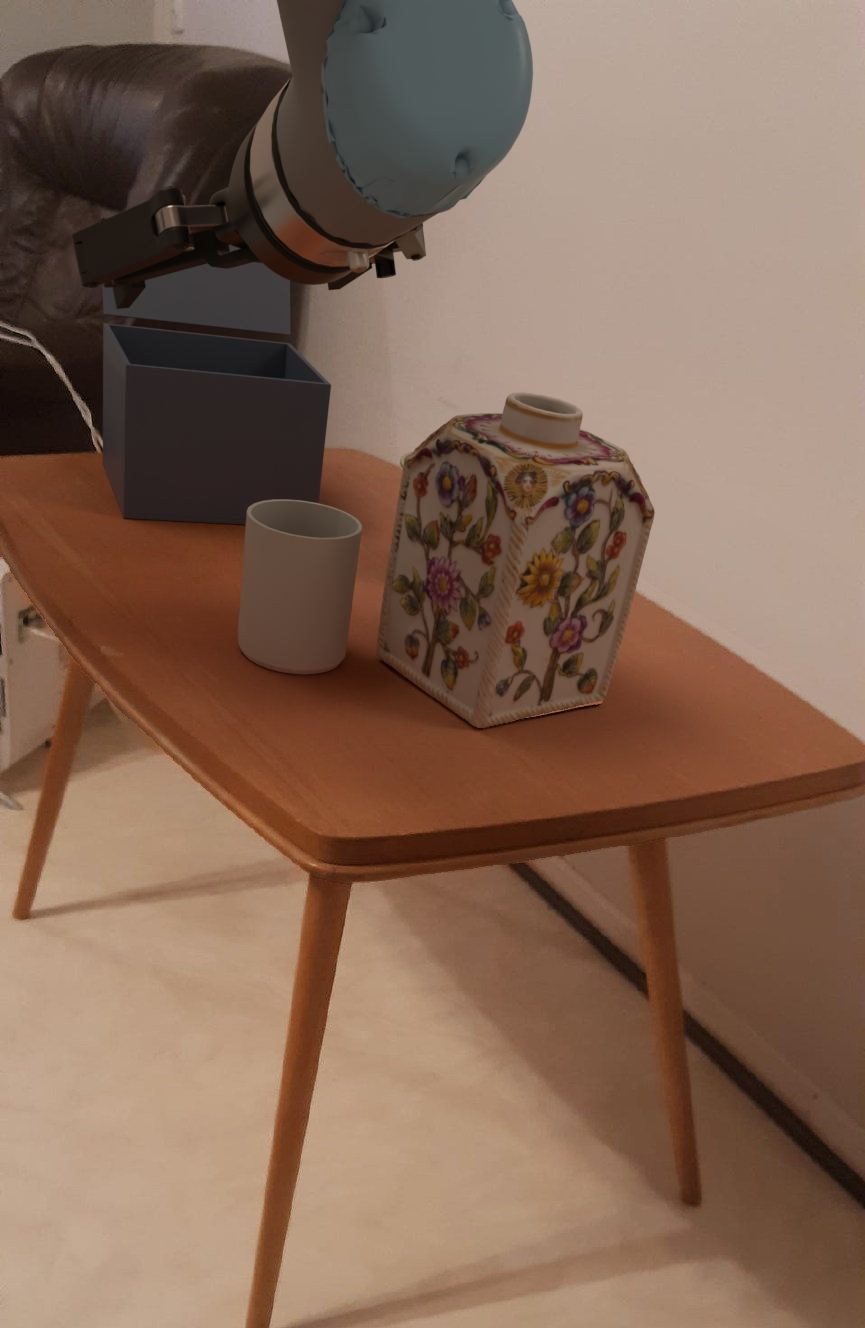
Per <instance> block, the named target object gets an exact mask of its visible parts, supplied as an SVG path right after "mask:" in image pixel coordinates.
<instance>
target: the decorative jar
mask: <svg viewBox="0 0 865 1328" xmlns="http://www.w3.org/2000/svg"><path fill="white" fill-rule="evenodd" d="M583 416H584V413H583V411H582V410H581V408H579V407H578V406H576V405H575V404H573V403H570V402H568V401H565V400H562V399H560V398H555V397H553V396H548V395H543V394H536V393H532V392H531V393H530V392H512V393H510V394H508V395H507V396H506V399H505V401H504V406H503V410H502V412H489V413H487V412H485V413H482V412H481V413H467V414H458V415H457V414H456V415H455V416H453V417H452V418H450V419H449V420H448V421H446V423H443V424H442V425H441V426H440V427H439V428H437V429H436V430H434V431H433V432H432V433H430V434H429V435H428V436H427V437H426V439H425V440H423V441H422V442H421V443H420V444H419V445H418V446H417V447H415V448H414V450H413V451H412V452H413V453H411V454H410V455H409V456H407V458H406V459H405V461H404V465H403V468H402V473H401V478H400V484H399V490H398V497H397V498H398V499H397V504H396V509H395V517H394V524H393V530H392V537H391V543H390V549H389V552H388V553H389V555H388V561H387V567H386V574H385V580H384V588H383V593H382V603H381V609H380V617H379V624H378V633H377V643H376V655H377V658H378V659H380V660H381V661H382V662H384V663H385V664H386V665H388V666H389V667H391V668H393V669H394V671H396V672H398V673H399V674H400V675H401V676H403V677H404V678H405V679H407V680H408V681H410V682H412V683H413V684H414V685H415V686H416V687H418V688H419V689H420V690H422V691H423V692H425V693H426V694H427V695H428V696H430V697H432V698H434V699H435V700H436V701H438V702H439V703H441V704H442V705H444V706H445V707H446V708H448V709H450V710H451V712H453V713H455V714H456V715H457V714H458V715H457V716H459V717H460V718H461V719H462V720H464V719H465V720H464V721H466V722H467V721H468V722H467V723H468V724H470V725H471V726H473V727H474V728H476V727H477V728H476V729H478V728H483V729H487V728H490V727H489V726H492V727H495V726H494V725H496V726H499V725H498V724H501V725H503V724H502V723H506V722H510V721H513V720H517V719H522V718H526V717H531V716H535V715H540V714H543V713H544V714H545V713H549V712H552V711H557V710H563V709H564V710H565V709H568V708H573V707H576V706H579V705H584V704H589V703H593V702H598V701H604V700H605V701H606V699H607V694H608V691H609V688H610V686H611V685H610V684H611V682H612V677H613V674H614V670H615V668H616V664H617V661H618V657H619V652H620V648H621V645H622V642H623V639H624V635H625V632H626V628H627V625H628V620H629V617H630V616H629V615H630V613H631V609H632V605H633V601H634V597H635V593H636V590H637V585H638V583H639V582H638V581H639V578H640V574H641V570H642V566H643V561H644V559H645V553H646V550H647V547H648V546H647V545H648V543H649V540H650V539H649V538H650V535H651V530H652V528H653V527H652V526H653V523H654V519H655V513H656V512H655V507H654V506H653V503H652V502H651V498H650V496H649V493H648V491H647V490H646V488H645V487H644V485H643V481H642V478H641V476H640V474H639V472H638V471H637V470H636V467H634V464H633V463H632V461H631V459H630V456H629V454H628V453H627V451H626V450H625V449H623V448H622V447H619V446H618V445H615V444H613V443H612V442H609V441H607V440H605V439H603V438H602V437H599V436H598V435H595V434H593V433H591V432H589V431H588V430H584V429H582V428H581V426H582V423H583V422H582V421H583ZM605 701H604V702H605ZM522 720H523V719H522ZM506 724H507V723H506ZM486 727H487V728H486Z"/></svg>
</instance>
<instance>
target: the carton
mask: <svg viewBox="0 0 865 1328" xmlns="http://www.w3.org/2000/svg"><path fill="white" fill-rule="evenodd" d="M102 324H103V325H102V327H103V328H102V329H103V330H102V334H103V335H102V339H103V340H102V363H103V364H102V466H103V469H104V471H105V474H106V476H107V479H108V481H109V484H110V487H111V489H112V492H113V494H114V497H115V500H116V502H117V504H118V507H119V510H120V512H121V515H122V517H123V519H128V520H129V519H130V520H146V521H147V520H148V521H149V520H150V521H151V520H152V521H167V522H168V521H169V522H186V523H188V522H189V523H190V522H191V523H203V524H224V525H225V524H226V525H243V526H246V514H247V509H248V507H249V506H251V505H252V504H254V503H257V502H261V501H266V500H279V499H289V500H301V501H308V502H314V503H319V504H320V494H321V493H320V492H321V485H322V484H321V483H322V475H323V466H324V465H323V464H324V456H325V446H326V437H327V429H328V419H329V407H330V402H331V401H330V400H331V392H332V391H331V390H332V384H331V383H330V382H329V381H328V379H326V378H325V377H324V376H323V375H322V374H321V373H320V372H319V371H318V370H317V369H316V367H314V366H313V364H311V363H310V362H309V361H308V360H307V359H306V358H305V357H304V356H303V355H302V353H300V352H299V351H298V350H297V349H296V348H295V346H293V344H292V343H289V342H284V341H283V342H282V341H272V340H263V339H254V338H245V337H237V336H236V337H235V336H229V335H228V336H227V335H219V334H208V333H198V332H192V331H191V332H189V331H181V330H171V329H163V328H162V329H161V328H153V327H144V326H136V325H126V324H116V323H107V322H103V323H102Z"/></svg>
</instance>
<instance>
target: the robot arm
mask: <svg viewBox="0 0 865 1328" xmlns="http://www.w3.org/2000/svg"><path fill="white" fill-rule="evenodd" d="M276 4H277V8H278V13H279V19H280V23H281V28H282V32H283V36H284V41H285V46H286V51H287V56H288V60H289V66H290V69H291V76H290V77H289V79H288V80H287V81H286V82H285V84H283V86H282V87H281V89H280V90H279V91H278V92H277V94H276V95H275V96H274V97H273V99H272V100H271V101H270V103H269V104H268V105H267V107H266V109H265V111H264V112H263V114H262V115H261V116H260V117H259V119H257V121H256V123H255V124H254V126H253V127H252V128H251V130H250V131H249V132H248V133H247V134H246V136H245V138H244V140H242V142H241V144H240V146H239V148H238V151H237V153H236V156H235V157H234V158H235V159H234V161H233V165H232V167H231V173H230V178H229V183H228V184H226V185H224V186H220V187H217V188H214V189H211V190H207V191H204V192H201V193H200V194H199V195H198V196H197V198H196V202H195V204H193V205H187V199H186V195H184V194H183V190H182V188H181V187H178V186H174V185H168V186H164V187H163V188H161V189H159V190H157V191H156V192H155V193H154V194H153V195H151V197H150V198H149V199H148V200H146V201H144V202H141V203H138V204H136V205H135V206H133V207H130V208H128V209H126V210H123V211H121V212H119V213H117V214H113V215H112V216H110V217H108V218H105V217H102V218H100V219H99V222H97V223H94V224H91V225H90V226H88V227H85V228H83V229H80V230H77V231H76V232H74V233H72V234H71V240H72V245H73V251H74V255H75V260H76V265H77V270H78V275H79V279H80V283H81V286H82V287H84V288H89V289H95V288H98V287H99V286H101V285H102V284H103V285H102V287H103V286H104V287H105V288H110V287H112V288H113V293H114V298H115V302H116V307H117V309H122V308H129V307H130V306H131V305H132V304H133V302H134V301H135V300H136V299H137V297H138V296H139V295H140V294H141V292H142V291H143V290H144V289H145V287H146V285H145V280H148V279H152V278H156V277H159V276H163V275H167V274H170V273H174V272H178V271H181V270H185V269H189V268H193V267H196V266H200V265H204V264H207V263H208V264H209V265H210V266H211V267H217V268H225V269H229V268H233V267H237V266H241V265H245V264H248V263H252V262H256V263H263V264H264V265H265V266H266V267H268V268H269V269H270V270H272V271H273V272H275V273H276V274H278V275H279V276H281V277H283V278H285V279H288V280H290V282H293V283H297V284H301V285H309V286H310V285H311V286H318V285H327V290H328V291H337V290H341V289H342V288H344V287H346V286H347V285H349V284H350V283H352V282H353V281H355V280H357V279H358V278H360V277H361V276H362V275H364V274H365V273H367V272H369V271H370V270H372V269H373V265H374V267H375V273H376V274H375V275H376V279H386V278H392V277H395V276H396V275H397V269H396V264H395V263H396V262H395V255H394V253H395V254H396V253H400V252H401V253H402V255H403V256H404V258H405V259H406V260H412V261H413V262H415V261H420V260H421V259H424V258H425V257H427V251H426V250H427V249H426V241H425V233H424V223H425V222H426V221H428V220H430V219H431V218H433V217H435V216H436V215H438V214H441V213H445V212H447V211H450V210H451V209H453V208H454V207H455V206H456V205H457V204H458V203H459V202H460V201H462V200H467V198H468V197H469V196H470V195H471V194H472V193H473V192H474V191H475V189H476V188H477V187H478V186H479V185H480V184H481V183H482V182H483V180H484V179H485V178H486V177H487V175H489V174H490V173H491V172H492V171H493V170H495V168H497V167H498V165H499V164H501V163H502V162H503V161H504V159H505V158H506V157H507V155H508V154H509V153H510V151H511V150H512V148H513V146H514V145H515V143H516V141H517V139H518V138H519V136H520V134H521V132H522V130H523V127H524V125H525V122H526V120H527V117H528V112H529V109H530V104H531V100H532V99H531V98H532V93H533V92H532V91H533V79H534V61H533V52H532V45H531V41H530V37H529V33H528V29H527V26H526V22H525V21H524V18H523V16H522V15H521V14H520V13H519V11H518V9H517V7H516V5H515V4H514V1H513V0H276ZM229 245H232V246H235V247H237V248H240V249H238V250H234V251H231V252H230V249H229Z"/></svg>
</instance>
